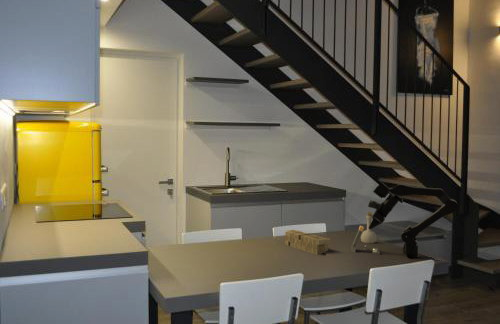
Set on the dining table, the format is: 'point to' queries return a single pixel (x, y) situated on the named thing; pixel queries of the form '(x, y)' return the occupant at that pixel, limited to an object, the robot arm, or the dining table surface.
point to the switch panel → (374, 251)
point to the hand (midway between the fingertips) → (370, 227)
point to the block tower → (306, 241)
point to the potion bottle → (368, 231)
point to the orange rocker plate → (358, 235)
